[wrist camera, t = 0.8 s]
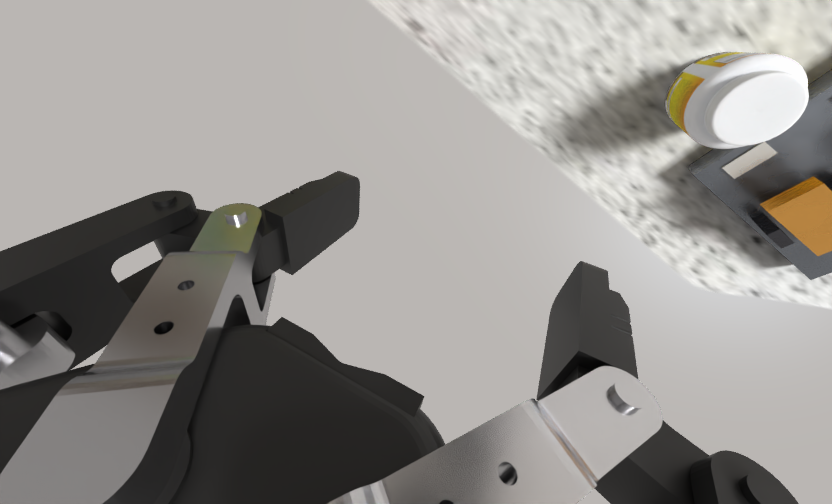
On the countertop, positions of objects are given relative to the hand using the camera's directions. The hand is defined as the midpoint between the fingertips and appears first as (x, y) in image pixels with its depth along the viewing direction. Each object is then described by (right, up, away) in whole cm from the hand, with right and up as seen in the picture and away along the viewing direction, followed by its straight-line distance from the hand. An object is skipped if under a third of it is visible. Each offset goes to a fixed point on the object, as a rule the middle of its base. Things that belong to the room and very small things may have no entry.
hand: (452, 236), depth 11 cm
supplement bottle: (+23, +13, +15) cm, 30 cm away
